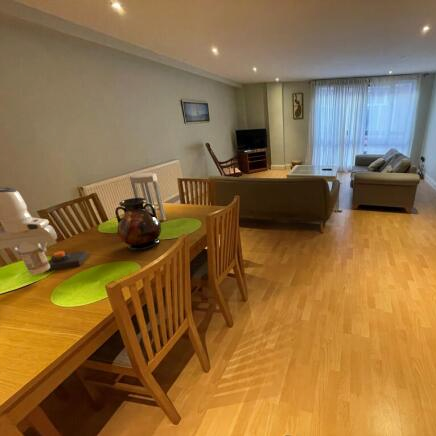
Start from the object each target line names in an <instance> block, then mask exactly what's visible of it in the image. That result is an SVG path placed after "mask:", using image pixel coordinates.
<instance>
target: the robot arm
mask: <svg viewBox="0 0 436 436" xmlns="http://www.w3.org/2000/svg"><path fill="white" fill-rule="evenodd" d="M0 224H1V226H0V250H2V249H3V250H4V249H9V250H10V251H11V252H13V253H15V254H16V257H19V256H20V257H21V255H20V253H19V250H18V246H19V245H20V244H21V243H22V242H27V243H29V244H32V245H34V244H40V245H41V247H42V248H41V249H39V250H40V252H44V253H46V252H47V251H48V250H47V246H48V243H49V244H50V243H54V242H55V241H56V240H57V239H58V234H57V232H56V230H55V228H54V227H53V226H52V225H50V221H49V219H47V218H38V217H33V216H32V215H31V213H30V212H29V211H28V206H27V204H26V202H25V199H24V198H23V196H22V194H21V193H20V192H19V191H18V190H17V189H15V188H12V187H0Z"/></svg>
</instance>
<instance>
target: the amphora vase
mask: <svg viewBox="0 0 436 436" xmlns="http://www.w3.org/2000/svg"><path fill="white" fill-rule="evenodd" d="M145 202H146V199H145V198H144V197H140V198H135V197H131V198H126V199H123V200H121V201H119V203H118V204H119V206H117V207H116V208H115V211H114V212H115V218H116V220H117V223H118V225H117V235H118V238H119V240H121V241H122V243H124V244H125V245H127V249H128V250H130V251H132V252H143V251H148V250H151V249H153V248H155V247H156V246H158V245H159V243H160V238H159V237H160V235H161V233H162V225H161V222H160V220H159V218H158V219H157V217H156V213H155V209H154V206H153V205H152V204H145ZM146 206H150V207H151V208H152V210H153V213H151V212H149V211H148V210H146ZM119 210H122V211H123V215H121V216H120V214H119Z"/></svg>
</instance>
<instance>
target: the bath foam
mask: <svg viewBox="0 0 436 436" xmlns="http://www.w3.org/2000/svg"><path fill="white" fill-rule="evenodd" d="M41 248H42V246H41V245H40V244H34V245H32V244H29V243H27V242H22V243H21V244H20V245H19V246H18V247H17V249H18V250H19V253H20V257H21V259H22V261H23V263H24V264H25V267H26V269H27V271H28V273H29V274H30V275H40V274H43V273H45V272H48V271H47V270H49V269H50V265H49V262H48V261H49V260H48V258H47V256H46V254H45V252H40V250H39V249H41Z"/></svg>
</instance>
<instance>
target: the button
mask: <svg viewBox="0 0 436 436" xmlns="http://www.w3.org/2000/svg"><path fill="white" fill-rule="evenodd" d="M64 252H65V251H64V250H58V251H56V252H54V253H53V256H54V257H55V258H60V257H63V256H65V253H64Z"/></svg>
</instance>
